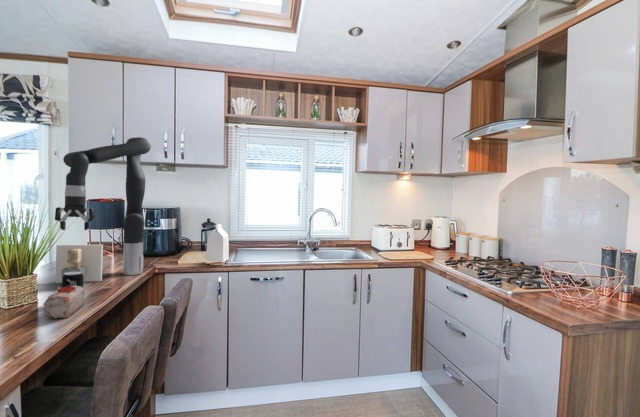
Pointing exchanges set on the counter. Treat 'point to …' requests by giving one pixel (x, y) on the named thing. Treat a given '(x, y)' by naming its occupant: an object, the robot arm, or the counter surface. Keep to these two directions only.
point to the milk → (218, 245)
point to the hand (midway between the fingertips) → (74, 229)
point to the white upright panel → (89, 261)
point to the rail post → (74, 259)
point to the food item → (64, 302)
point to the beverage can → (73, 279)
